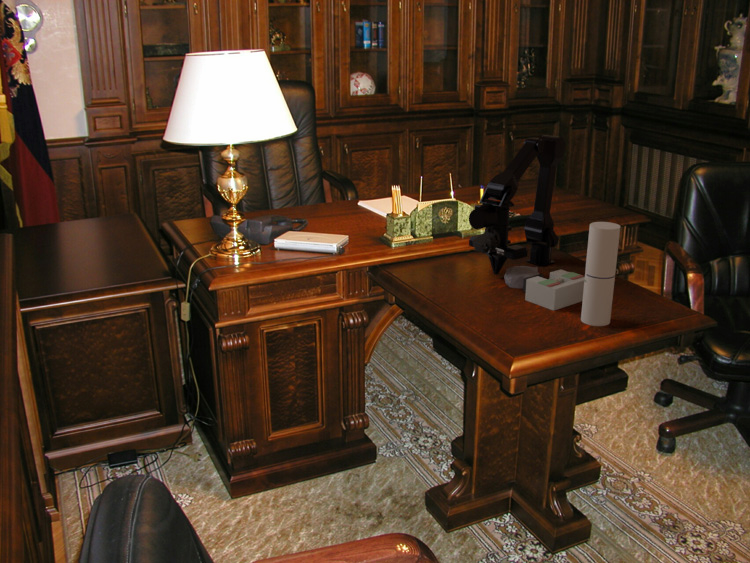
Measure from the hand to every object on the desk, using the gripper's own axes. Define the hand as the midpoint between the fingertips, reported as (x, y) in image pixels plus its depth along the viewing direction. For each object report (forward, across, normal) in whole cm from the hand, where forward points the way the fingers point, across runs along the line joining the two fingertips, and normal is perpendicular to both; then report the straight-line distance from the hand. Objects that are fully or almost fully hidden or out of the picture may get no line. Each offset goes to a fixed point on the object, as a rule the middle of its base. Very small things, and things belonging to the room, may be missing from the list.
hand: (496, 274), depth 218 cm
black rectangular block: (+1, +18, 0) cm, 18 cm away
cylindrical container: (+1, +39, -4) cm, 39 cm away
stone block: (+2, +7, +4) cm, 8 cm away
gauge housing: (+1, +23, 0) cm, 23 cm away
